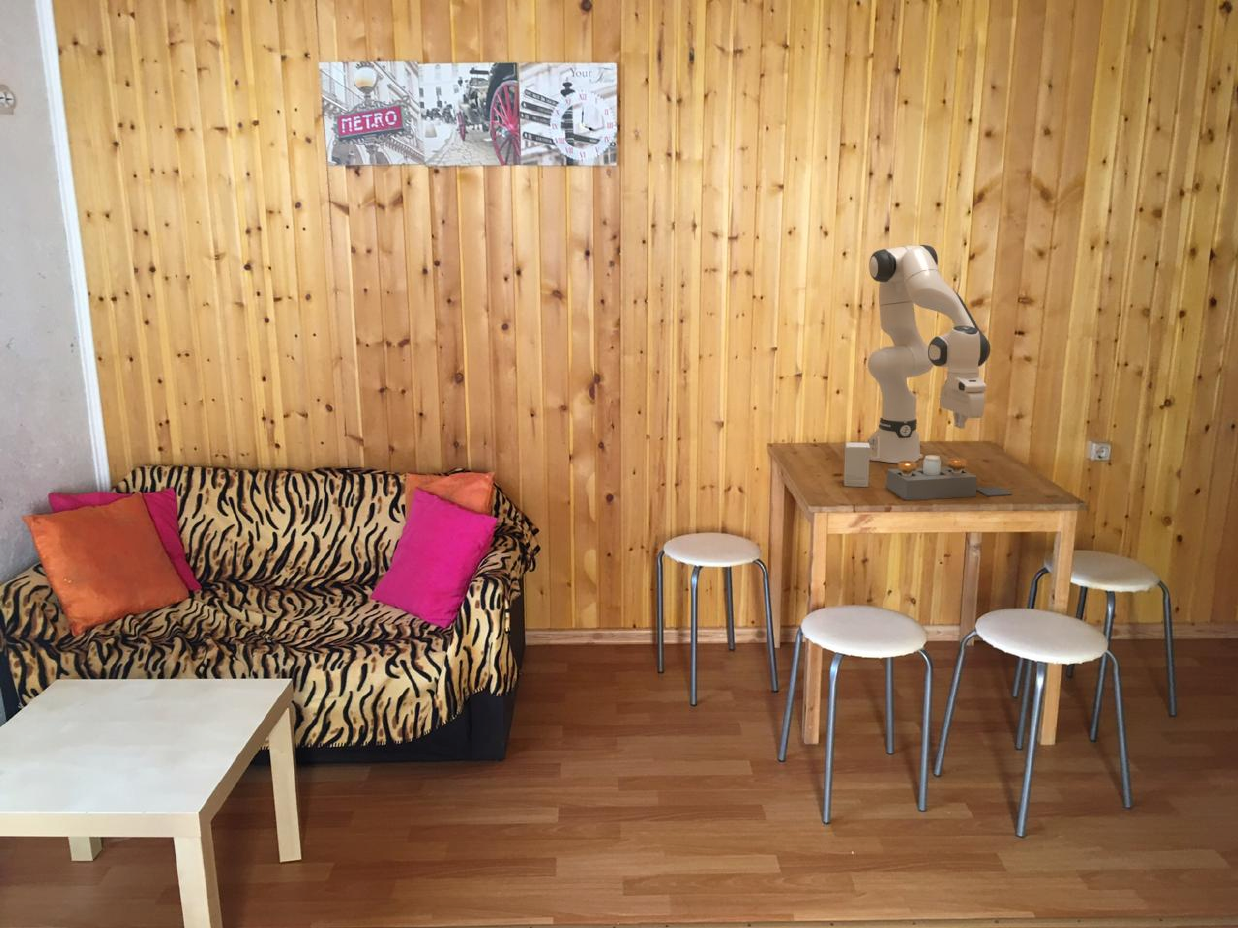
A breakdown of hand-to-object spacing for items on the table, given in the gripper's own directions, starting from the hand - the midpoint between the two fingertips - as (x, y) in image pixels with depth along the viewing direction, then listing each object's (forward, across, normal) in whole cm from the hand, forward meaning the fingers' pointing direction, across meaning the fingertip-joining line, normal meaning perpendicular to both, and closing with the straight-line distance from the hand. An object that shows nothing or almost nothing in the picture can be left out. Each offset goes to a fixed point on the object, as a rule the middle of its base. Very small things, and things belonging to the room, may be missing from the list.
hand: (959, 427), depth 302 cm
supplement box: (+20, -14, -26) cm, 36 cm away
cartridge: (+20, 0, -8) cm, 21 cm away
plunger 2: (+17, 0, 0) cm, 17 cm away
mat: (+20, +4, +10) cm, 22 cm away
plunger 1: (+18, 0, -16) cm, 24 cm away
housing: (+20, 0, -8) cm, 21 cm away
